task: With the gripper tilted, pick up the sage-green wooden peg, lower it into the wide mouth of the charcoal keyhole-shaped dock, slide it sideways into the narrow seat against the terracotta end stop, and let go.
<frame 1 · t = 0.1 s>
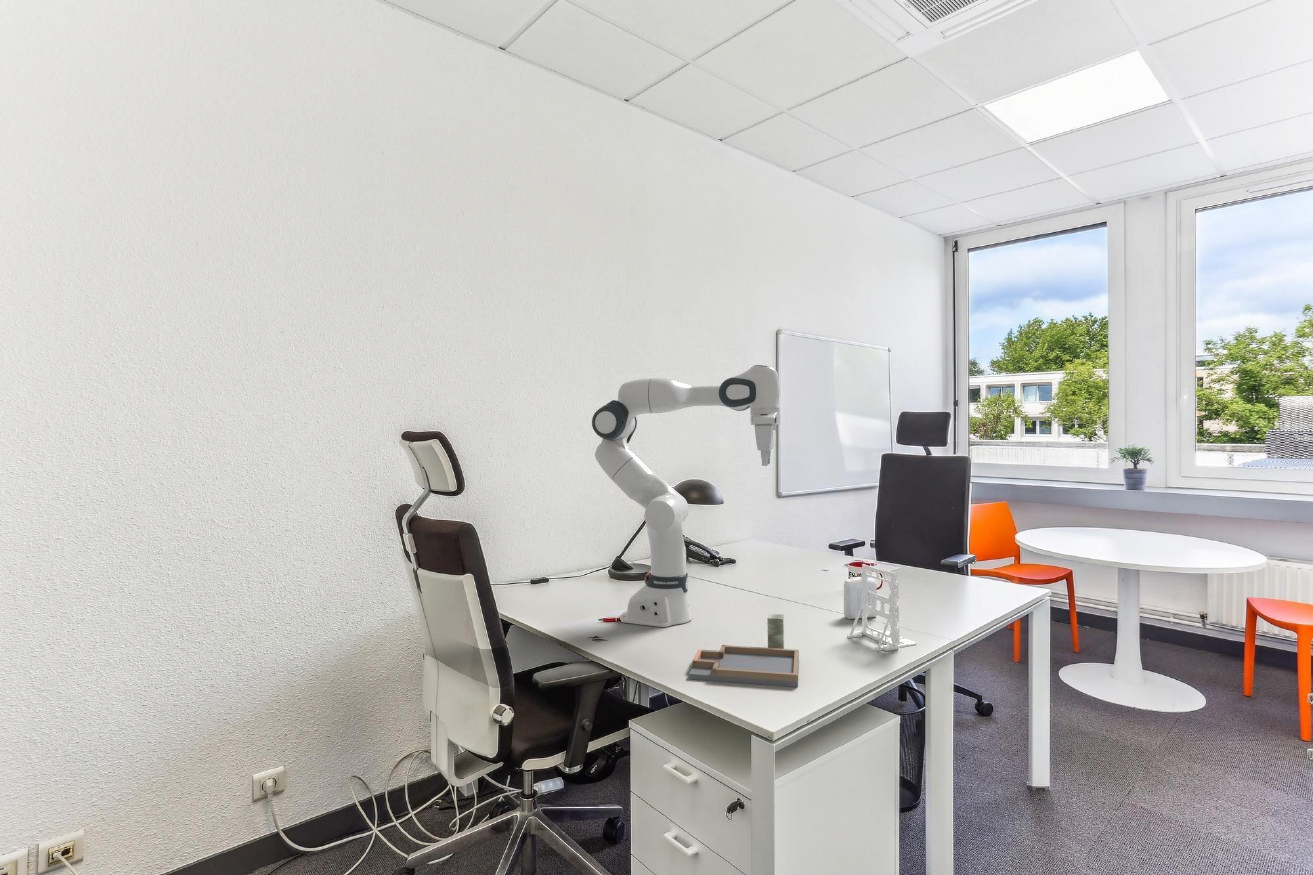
hand: (766, 465, 189), 48 cm above the table, tool pointing down, fingers open, 8 cm apart
white perforated frame: (882, 641, 172), on the table
keyhole dock: (748, 669, 153), on the table
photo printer: (860, 617, 194), on the table
green peg: (776, 650, 166), on the table
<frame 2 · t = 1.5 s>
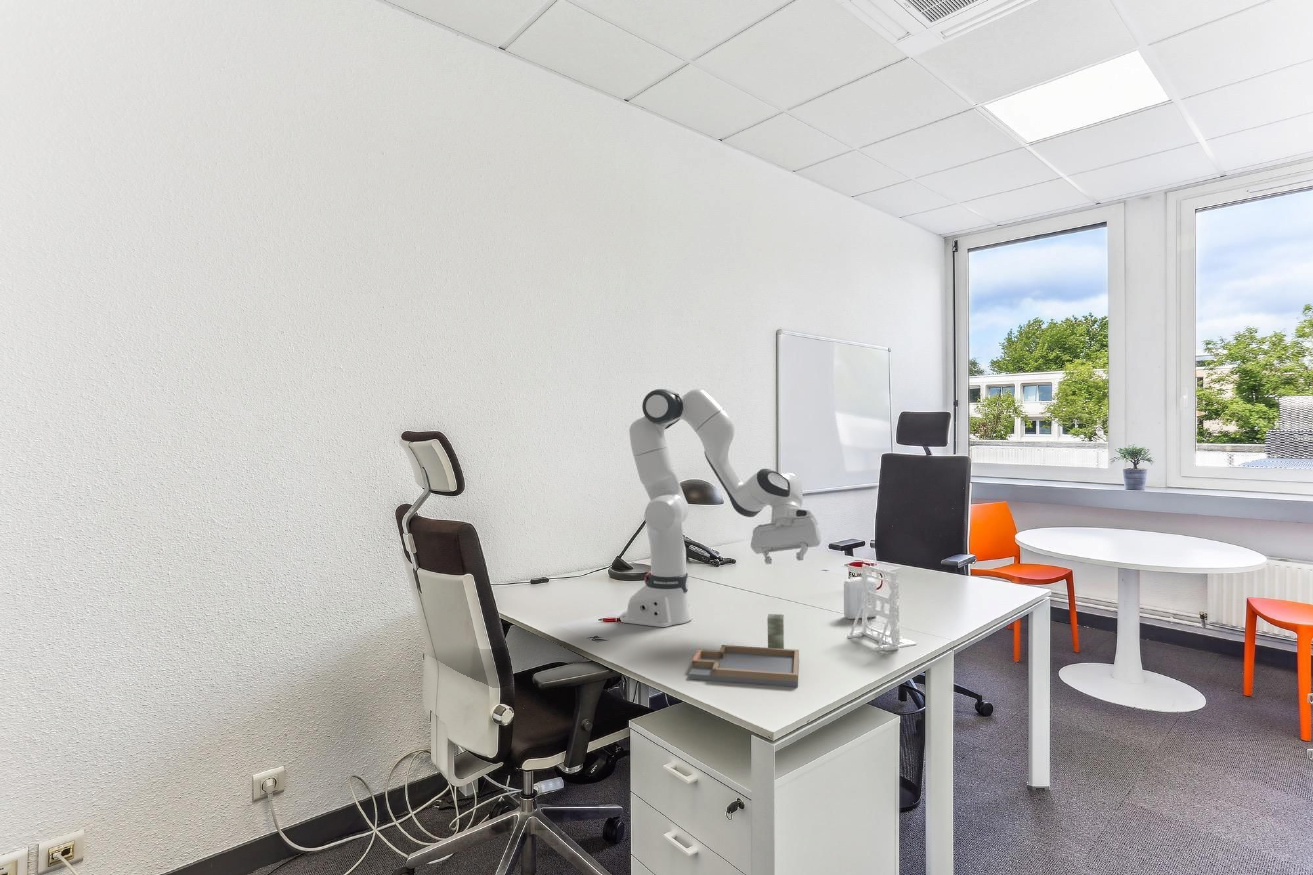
hand: (783, 561, 177), 21 cm above the table, tool tilted 45°, fingers open, 8 cm apart
nothing on the table moved.
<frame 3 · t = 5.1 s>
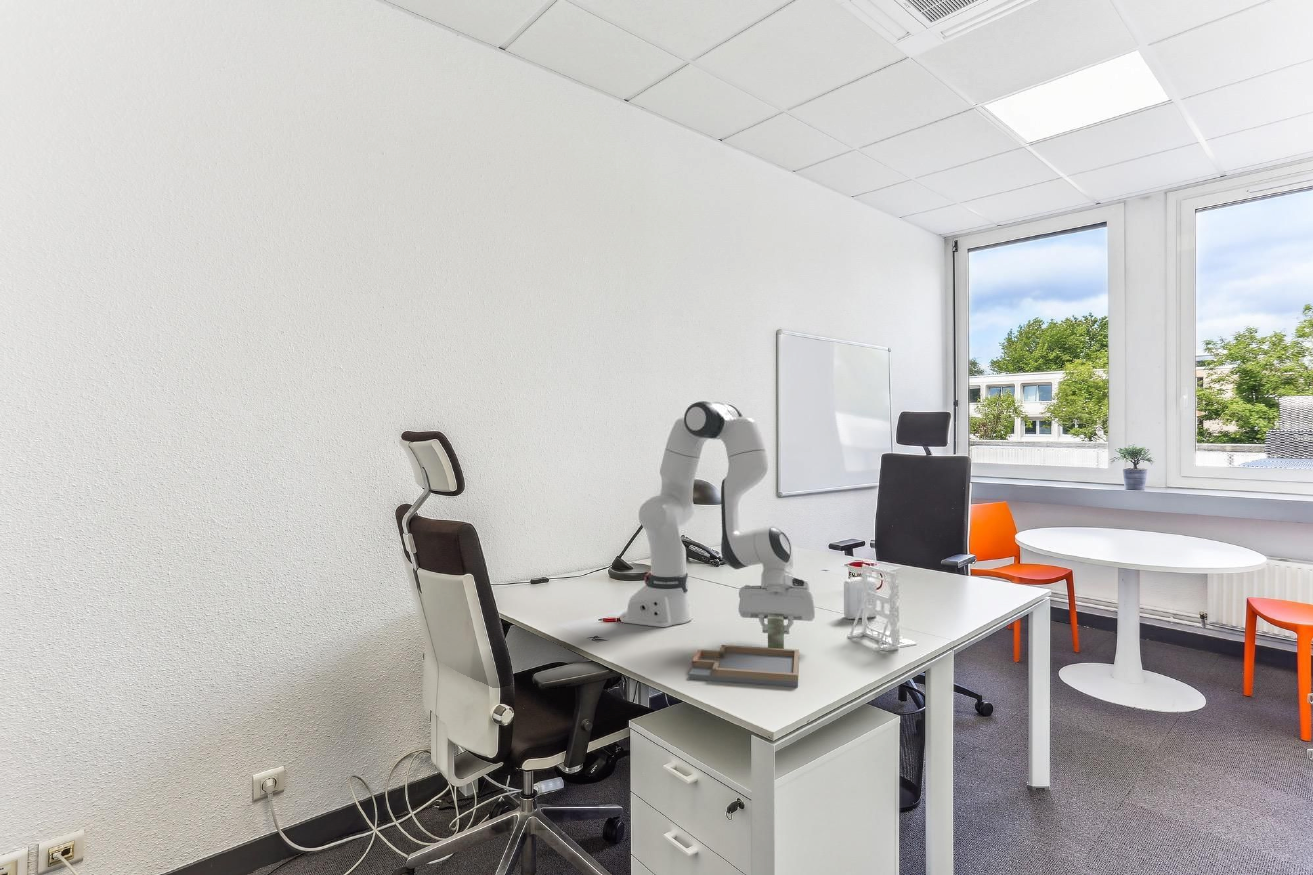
hand: (775, 632, 165), 5 cm above the table, tool tilted 45°, fingers closed on green peg, 4 cm apart
green peg: (776, 650, 166), on the table, touching gripper
everything else where it was.
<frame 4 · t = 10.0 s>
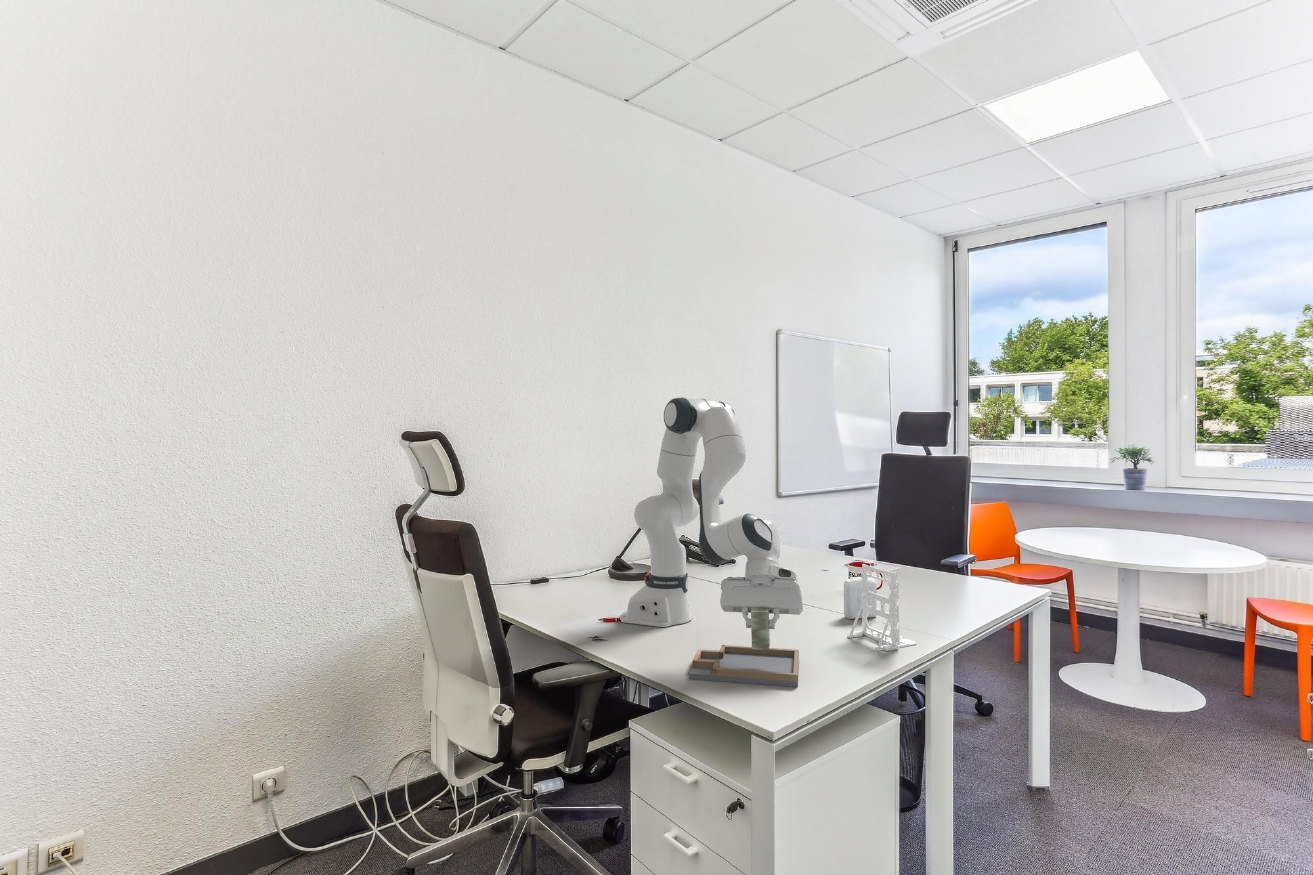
hand: (760, 627, 151), 11 cm above the table, tool tilted 45°, fingers closed on green peg, 4 cm apart
green peg: (760, 646, 152), point 6 cm above the table, touching gripper
everything else where it was.
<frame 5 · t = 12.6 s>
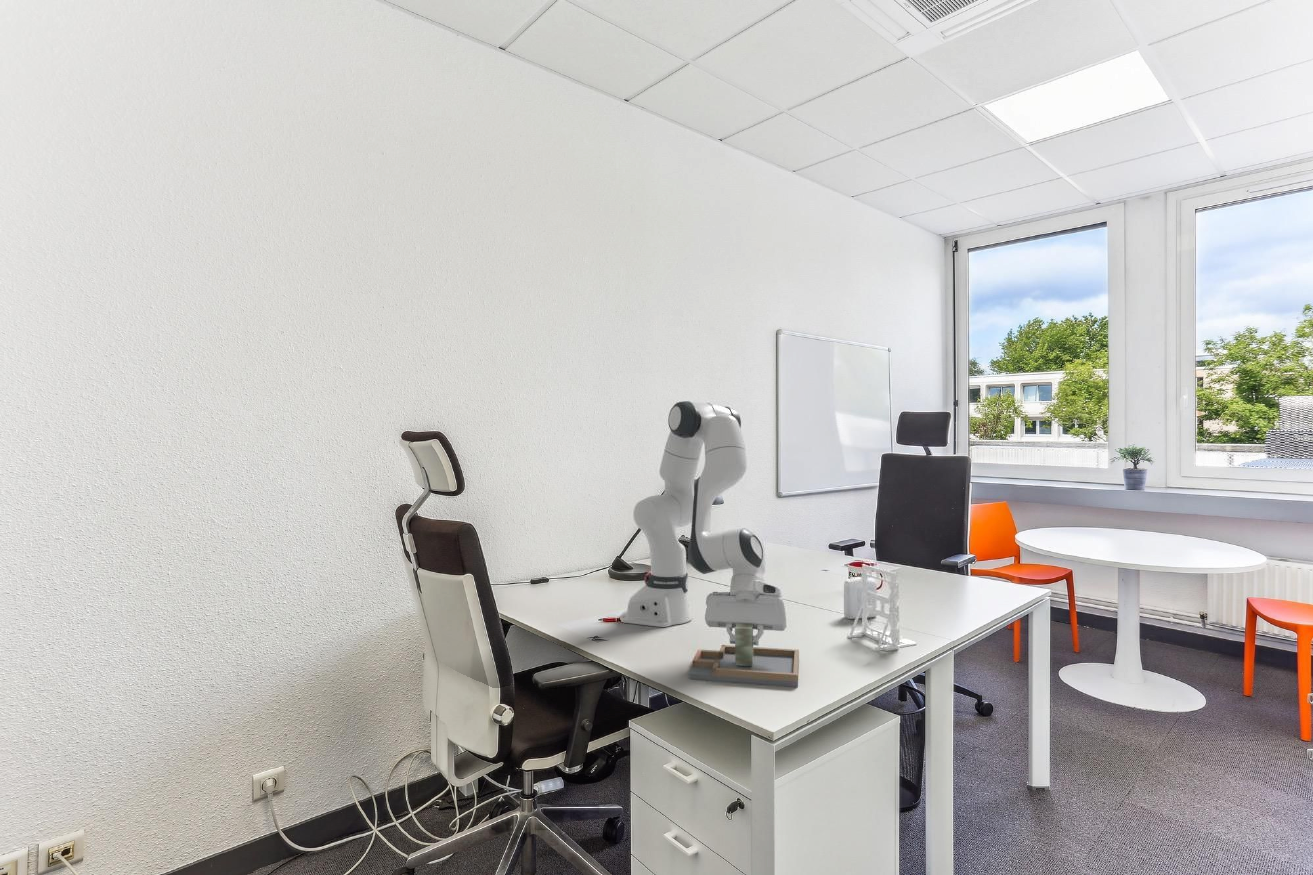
hand: (743, 643, 153), 6 cm above the table, tool tilted 45°, fingers closed on green peg, 4 cm apart
green peg: (744, 662, 153), point 2 cm above the table, touching gripper
everything else where it was.
when the fingers open (7 cm above the table, at t = 14.9 s): green peg stays where it is, resting on keyhole dock.
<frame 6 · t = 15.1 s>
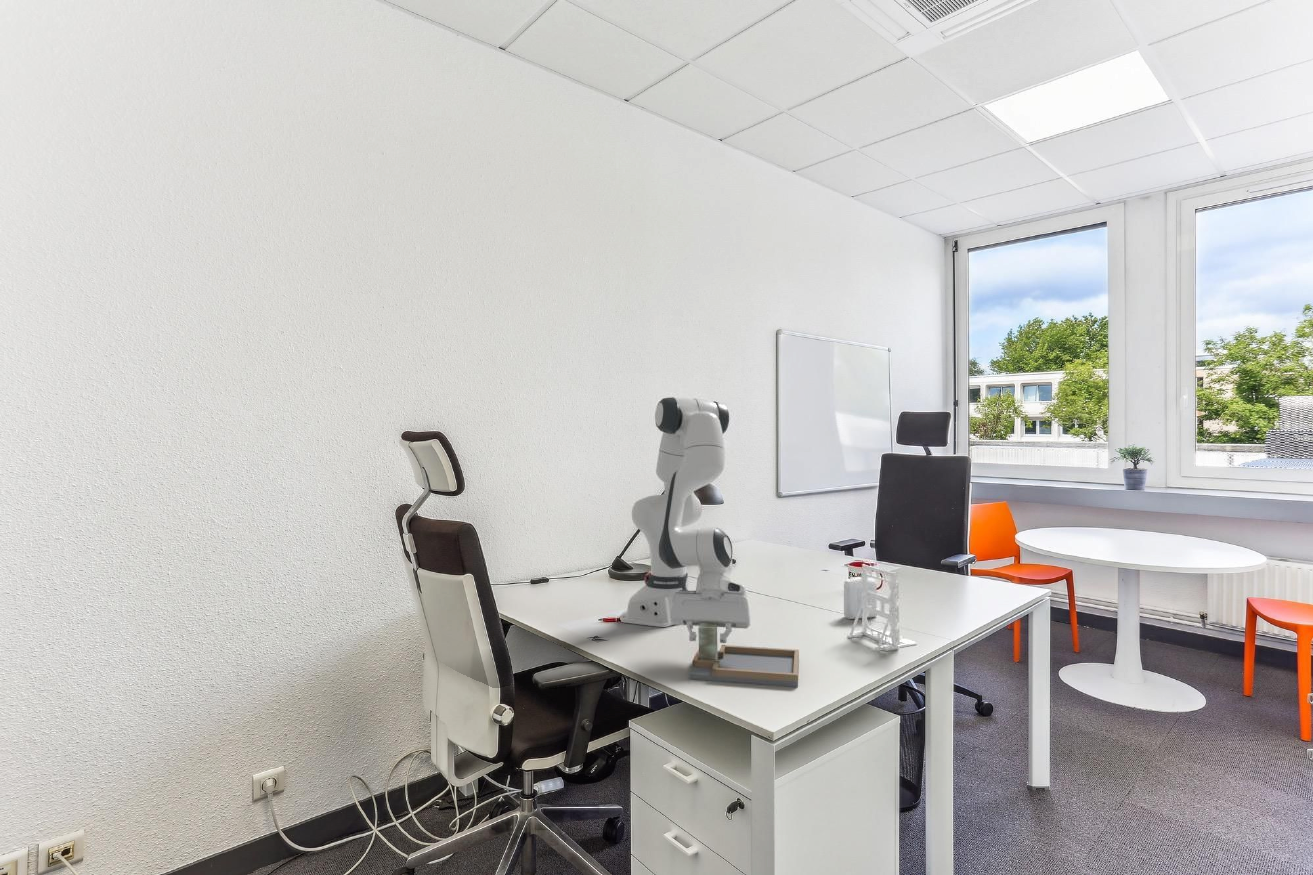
hand: (707, 641, 155), 7 cm above the table, tool tilted 45°, fingers open, 6 cm apart
green peg: (708, 661, 155), point 1 cm above the table, touching keyhole dock
everything else where it was.
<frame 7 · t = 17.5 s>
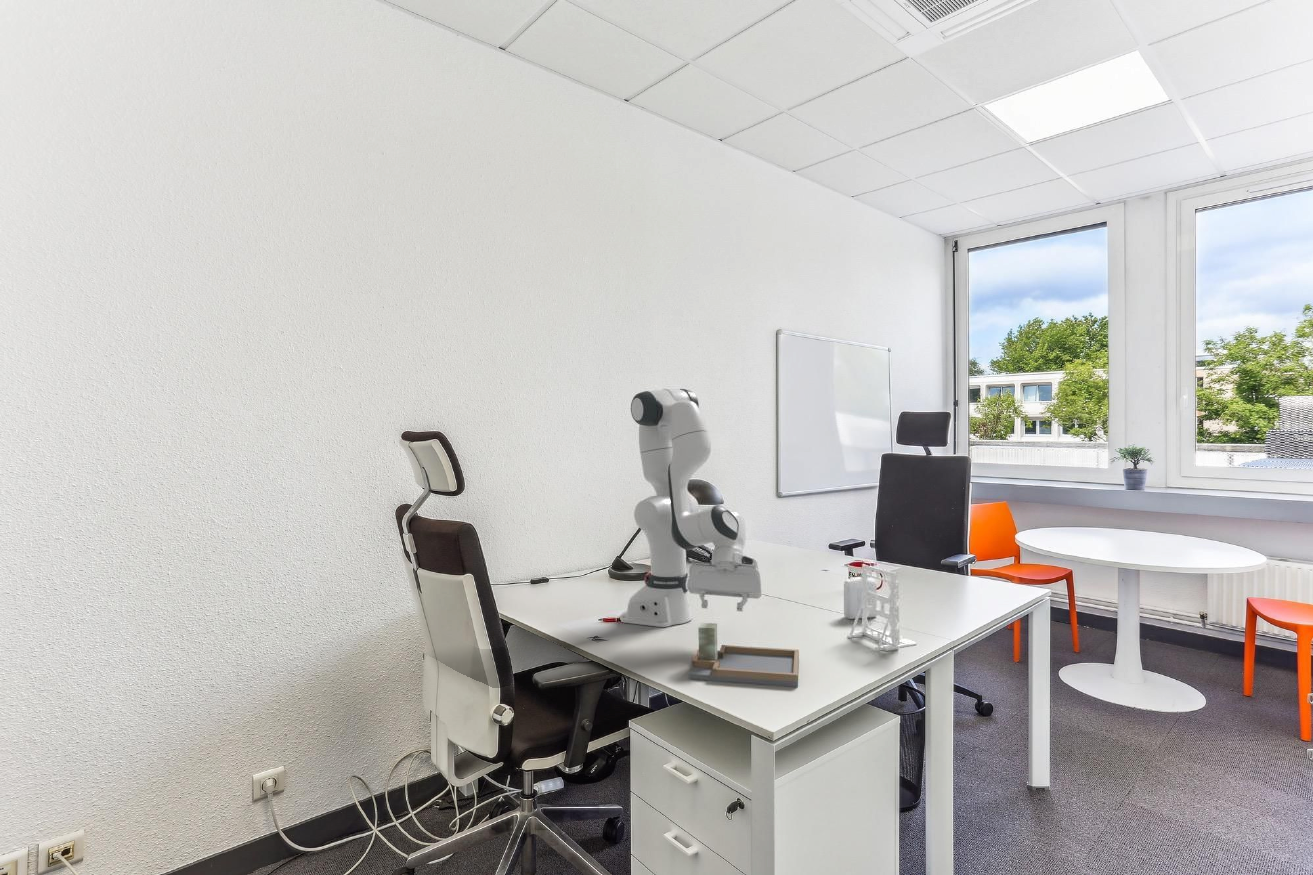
hand: (721, 608, 167), 11 cm above the table, tool tilted 45°, fingers open, 8 cm apart
nothing on the table moved.
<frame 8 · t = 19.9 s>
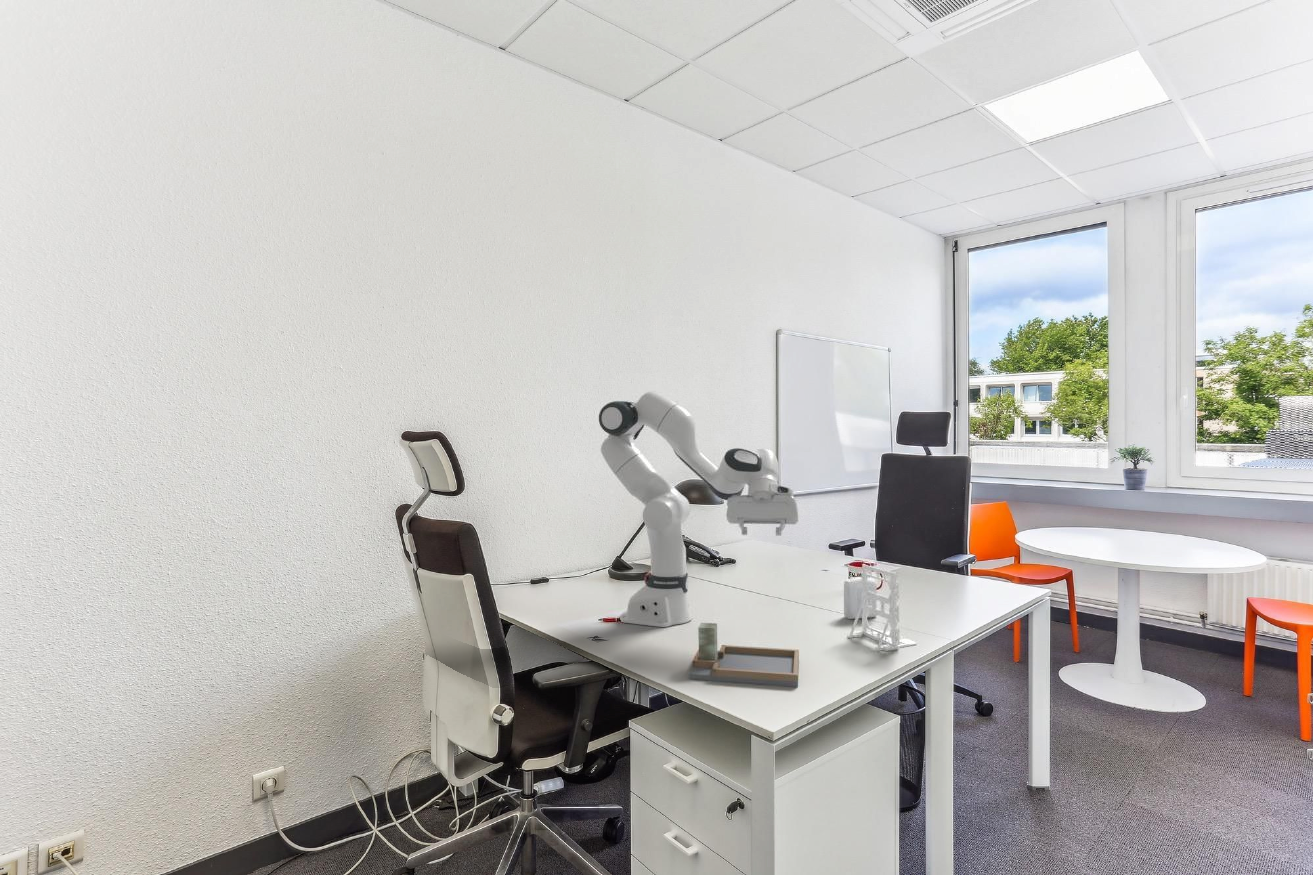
hand: (761, 534, 175), 29 cm above the table, tool tilted 45°, fingers open, 8 cm apart
nothing on the table moved.
at the end: green peg 0.4 cm from the target spot on the keyhole dock, point 1.2 cm above the keyhole dock's base; green peg tilted 0°; the gripper is holding nothing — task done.
